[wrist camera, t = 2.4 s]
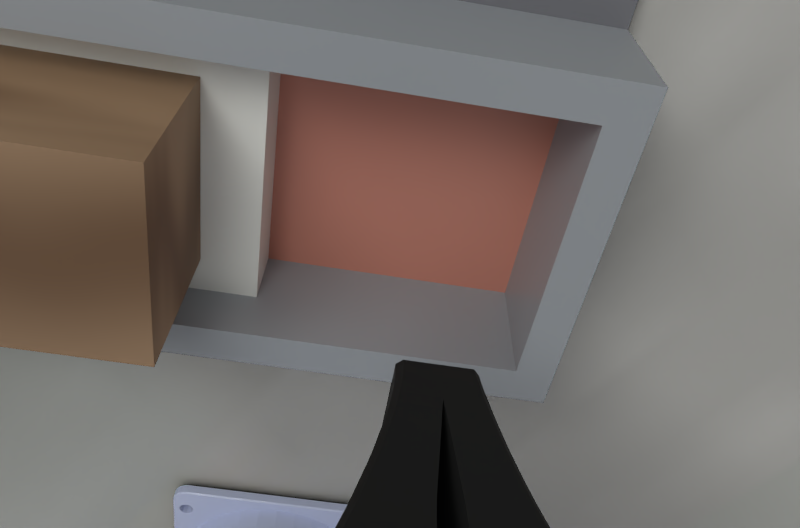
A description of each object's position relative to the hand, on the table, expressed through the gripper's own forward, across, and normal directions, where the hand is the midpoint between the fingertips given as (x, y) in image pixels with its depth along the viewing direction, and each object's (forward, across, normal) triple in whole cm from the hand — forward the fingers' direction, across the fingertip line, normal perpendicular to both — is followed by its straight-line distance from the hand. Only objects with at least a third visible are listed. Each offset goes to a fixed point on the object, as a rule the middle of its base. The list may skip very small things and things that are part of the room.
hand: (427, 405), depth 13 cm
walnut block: (+6, +8, 0) cm, 11 cm away
